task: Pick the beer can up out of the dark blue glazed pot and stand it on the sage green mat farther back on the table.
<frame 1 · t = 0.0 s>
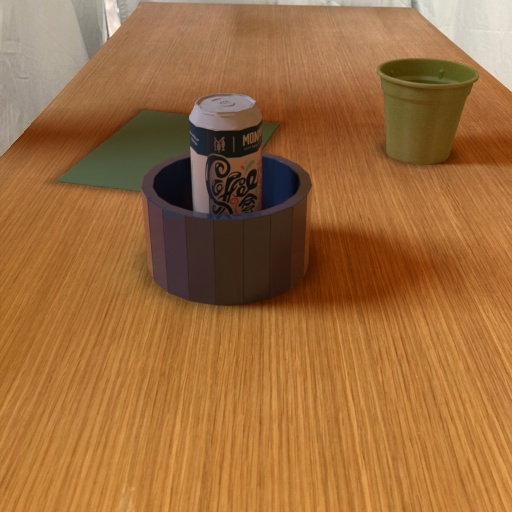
mat: (178, 154, 69), on the table
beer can: (228, 263, 51), resting on pot
plant pot: (415, 158, 69), on the table
pot: (228, 265, 51), on the table
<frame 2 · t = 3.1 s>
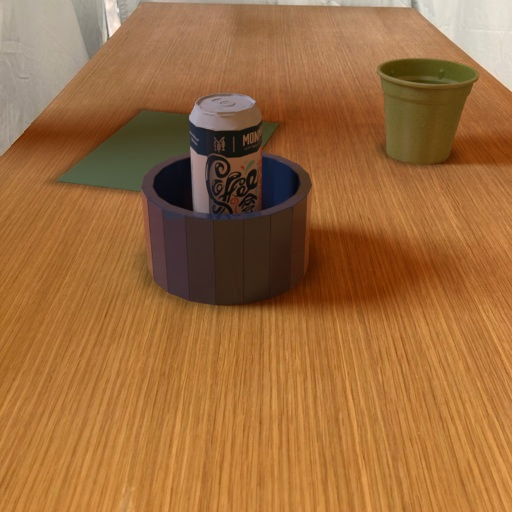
nothing on the table moved.
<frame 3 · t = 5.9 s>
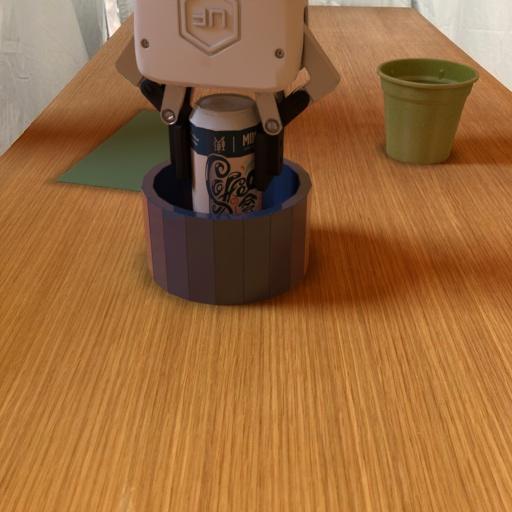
hand: (226, 176, 47), 7 cm above the table, tool pointing down, fingers closed on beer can, 4 cm apart
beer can: (228, 263, 51), resting on pot, touching gripper
everything else where it was.
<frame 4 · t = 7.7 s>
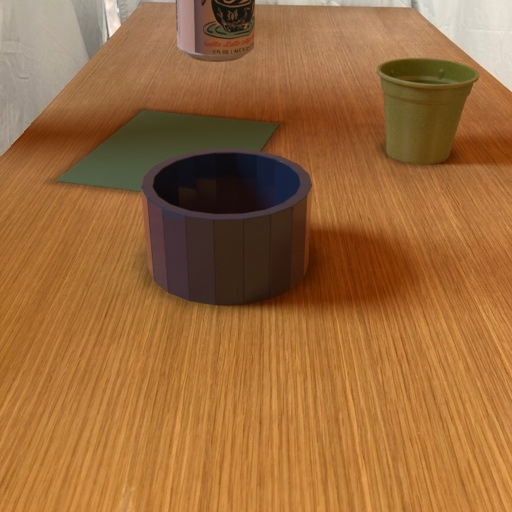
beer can: (215, 57, 44), point 15 cm above the table, touching gripper
everything else where it was.
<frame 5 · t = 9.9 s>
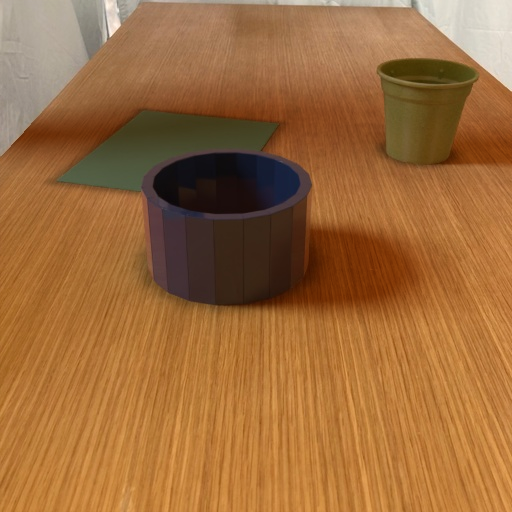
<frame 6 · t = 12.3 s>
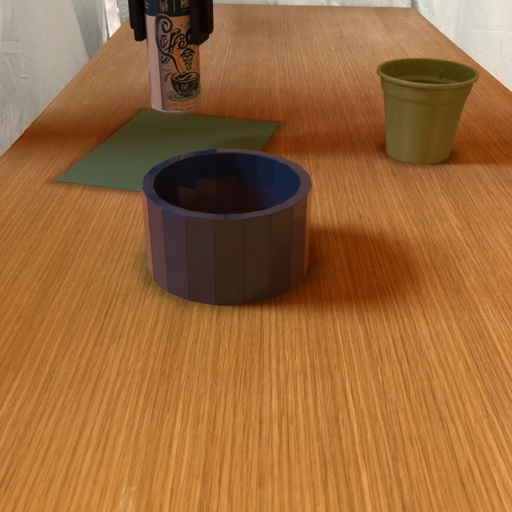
hand: (172, 37, 63), 11 cm above the table, tool pointing down, fingers closed on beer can, 4 cm apart
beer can: (176, 111, 67), point 4 cm above the table, touching gripper
everything else where it was.
when the fingers open (7 cm above the table, at t = 13.8 s): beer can stays where it is, resting on mat.
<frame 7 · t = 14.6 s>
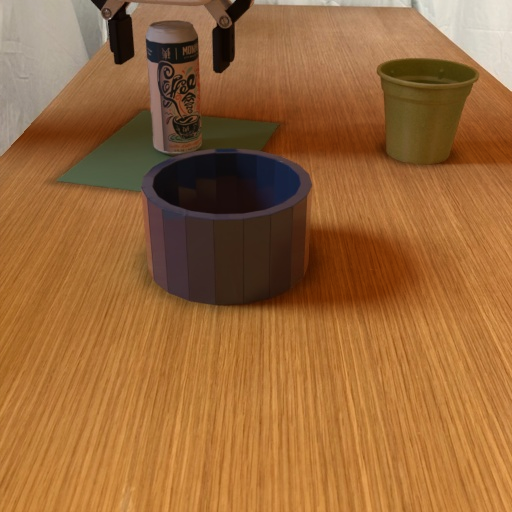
hand: (172, 65, 65), 9 cm above the table, tool pointing down, fingers open, 9 cm apart
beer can: (178, 150, 69), resting on mat
everything else where it was.
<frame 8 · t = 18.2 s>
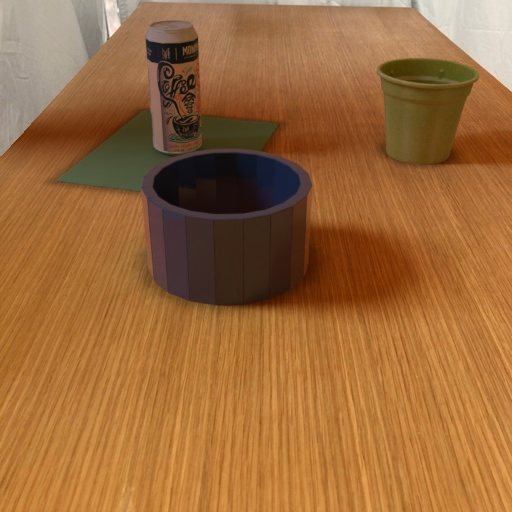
nothing on the table moved.
at the end: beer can inside the target area on the mat (0.0 cm from its centre), point 0.4 cm above the mat's base; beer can tilted 0°; the gripper is holding nothing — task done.
